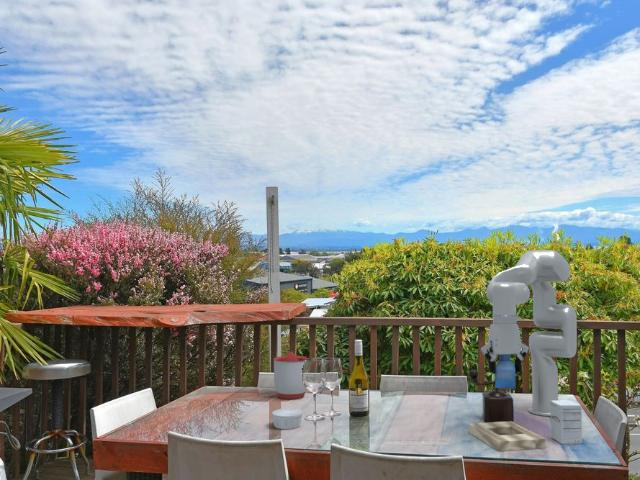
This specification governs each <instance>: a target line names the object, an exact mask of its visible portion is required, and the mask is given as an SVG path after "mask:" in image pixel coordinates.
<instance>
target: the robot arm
mask: <svg viewBox="0 0 640 480" xmlns="http://www.w3.org/2000/svg"><path fill="white" fill-rule="evenodd" d="M570 275H571V267H570V264H569V262H568V261H567V260H566V259H565V257H564V256H563V255H562V254H561V253H560V252H558V251H556V250H553V249H539V250H538V249H537V250H536V249H535V250H532V249H531V250H528V251H525V252H523V254H522V255H521V257H520V258H519V259H518V261H517V262H516V264H515V265H514V266H513V267H510V268H507V269H505V270H503V271H500V272H498V273H497V274H495V276H493V277H492V278H491V280H490V281H489V283H488V285H487V287H486V297H487V300H488V301H489V302H491V303H492V323H491V324H490V326H489V331H488V338H487V339H488V340H487V343H486V344H484V345H483V346H482V347H481V348H480V351H481V353H482V354H483V356H484V357H485V359H486V360H487V361H488V371H489V373H491V374H494V375H495V373H496V365H497V362H496V361H495V360H496V358H497V357H498V356H500V355H513V356H514V357H515V359H514V361H513V363H514V365H515V373H519V374H520V373H522V369H523V363H522V361H523V360H524V358H525V357H526V356H527V354H528V351H530V359H531V381H532V383H531V384H532V385H531V386H532V387H531V388H532V389H531V393H532V394H531V397H532V406H529V407H528V412H529V413H530V414H533V415H535V416H536V415H537V416H543V417H551V401H553V400H559V384H558V383H559V382H558V381H559V380H558V379H559V375H558V374H559V373H558V372H559V371H558V365H557V364H556V362H555V361H554V359H553V358H554V357H555V358H562V359H563V358H565V359H567V358H568V359H570V358H574V357H575V355H576V354H577V349H578V345H577V344H578V340H577V339H578V336H577V335H578V332H577V329H578V328H577V324H578V323H577V322H578V321H577V320H578V319H577V313H576V310H575V308H574V307H573V305H569V304H560V303H559V304H557V292H556V289H555V288H554V286H553V285H552V282H555V283H556V282H557V283H558V282H561V283H562V282H566V281H567V280H568V279H569V278H570ZM529 286H530V287H531V290H532V303H533V304H532V305H533V306H532V309H533V310H532V313H533V314H532V316H533V317H532V320H533V324H534V325H535V326H536V327H538V328H542V329H555V330H557V329H558V330H562V332H559V331H558V332H557V331H556V332H555V331H543V330H542V331H540V330H539V331H535V332H533V333H531V334H530V335H529V338H528V345H526V344H524V343H523V342H522V340H521V339H522V338H521V332H520V328H519V324H517V323H518V321H520V319H521V318H520V316H518V315H517V305H523V304H526V303H527V302H528V301H529V299H530V296H531V292H530V288H529ZM488 352H489V353H488Z"/></svg>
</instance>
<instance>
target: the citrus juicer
mask: <svg viewBox="0 0 640 480" xmlns="http://www.w3.org/2000/svg"><path fill="white" fill-rule="evenodd" d="M305 360H308V357H307V356H302V355H295V353H294V352H293V351H289V352H288V353H287V354H286V355H283V356H281V355H280V356H276V357H273V381H274V388H275V393H276V394H277V397H278V398H281V400H286V399H289V400H290V399H294V400H296V399H297V400H300V399H301V398H304V397H305V394H306V392H307V388H305V386H304V385H303V383H302V377H301V373H302V368H303V365H304V362H305Z"/></svg>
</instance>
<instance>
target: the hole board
mask: <svg viewBox="0 0 640 480" xmlns="http://www.w3.org/2000/svg"><path fill="white" fill-rule="evenodd" d="M468 433H469V434H471V435H472V436H474V437H475V438H477V439H479V440H480V441H482V442H483V443H484V444H486V445H488V446H490V447H491V448H492V449H495V450H496V451H497V452H507V451H508V452H510V451H513V452H514V451H527V450H528V451H529V450H537V449H538V450H539V449H540V450H542V449H546V438H545V437H543V436H541V435H540V434H537V433H535V432H534V431H531V430H529V429H527V428H525V427H524V426H521V425H519V424H518V423H516V422H515V421H514V422H512V421H507V422H489V423H485V422H477V423H476V422H475V423H474V422H473V423H468Z"/></svg>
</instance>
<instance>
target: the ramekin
mask: <svg viewBox="0 0 640 480" xmlns="http://www.w3.org/2000/svg"><path fill="white" fill-rule="evenodd" d="M271 416H272V423H273V426H274V427H275V428H276V429H279V430H286V431H287V430H296V429H297V428H300V426H301V422H302V416H303V411H302V410H301V409H298V408H289V407H288V408H279V409H275V410H273V411H272V412H271Z"/></svg>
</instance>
